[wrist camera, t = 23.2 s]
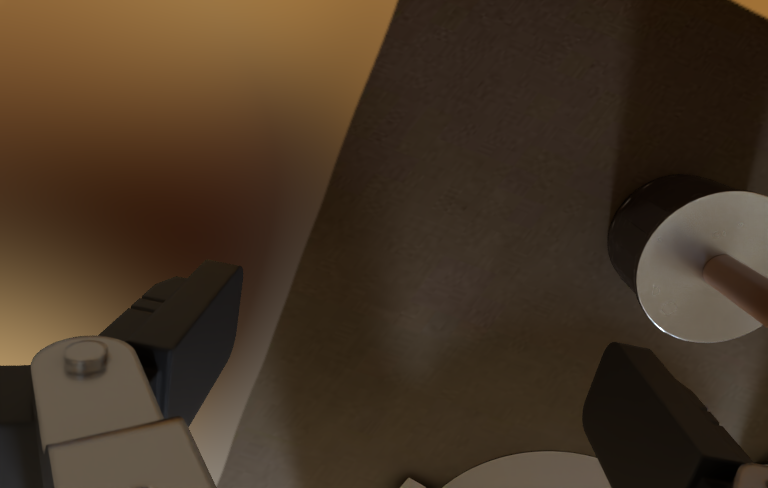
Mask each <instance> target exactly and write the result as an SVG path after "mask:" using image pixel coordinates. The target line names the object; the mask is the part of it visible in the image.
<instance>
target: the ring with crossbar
mask: <svg viewBox="0 0 768 488" xmlns="http://www.w3.org/2000/svg"><path fill="white" fill-rule="evenodd" d="M400 488H426V487H425V486H423V485H421V484H420V483H418V482H416V481H414V480H413V479H411V478H408V479H407V480H406V481H405V482H404V483H403V485H402V486H401V487H400ZM442 488H611V486H610V484H609V481H608V479H607V477H606V475H605V473H604V471H603V469H602V467H601V465H600V463H599V461H598V458H595V457H591V456H587V455H582V454H577V453H570V452H559V451H539V452H527V453H520V454H514V455H509V456H505V457H501V458H498V459H494V460H491V461H488V462H486V463H483V464H481V465H478V466H476V467H474V468H472V469H470V470H468V471H466V472H464V473H462V474H461V475H459V476H457V477H456V478H454V479H453V480H451V481H450V482H449V483H447V484H446V485H445V486H444V487H442Z"/></svg>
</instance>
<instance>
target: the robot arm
mask: <svg viewBox="0 0 768 488" xmlns="http://www.w3.org/2000/svg"><path fill="white" fill-rule="evenodd" d="M242 282H243V269H242V267H241V266H237V265H231V264H227V263H222V262H216V261H212V260H205V262H203V263H202V264H201V265H200V266H199V267H198V268H197V269H196V270H195V271H194V272H193V273H192V274H191V275H190V276H189V277H188V278H182V277H177V276H176V277H173V278H171V279H168V280H165V281H163V282H160V283H158V284H155V285H154V286H153V287H152V288H151V289H149V290H148V291H147V292H146V293H145V294H144V295H143V296H142V299H138V300H137V301H136V302H135V303H134V304H133V305H132V306H131V309H130V308H128V309H127V310H126V311H125V312H124V313H123V314H122V315H120V316H119V318H117V319H116V320H115V321H114V322H113V323H112V324H110V325H109V326H108V327H107V328H106V329H105V330H104V331H103V332H102V333H100V334H99V335H98V336H79V337H73V338H68V339H64V340H61V341H58V342H55V343H53V344H51V345H49V346H47V347H45V348H43V349H42V350H40V351H39V352H38V353H37V354H36V355H35V357H34V358H33V360H32V362H31V365H24V366H0V488H216V486H215V484H214V481H213V479H212V477H211V475H210V473H209V471H208V469H207V467H206V464H205V462H204V460H203V458H202V456H201V454H200V452H199V449H198V447H197V445H196V443H195V441H194V439H193V437H192V435H191V432H190V430H189V428H188V427H189V426H190V424H191V422H192V420H193V419H194V417H195V415H196V414H197V412H198V410H199V409H200V407H201V405H202V403H203V402H204V400H205V398H206V397H207V395H208V393H209V392H210V390H211V388H212V387H213V385H214V383H215V382H216V380H217V378H218V377H219V375H220V373H221V371H222V370H223V368H224V366H225V365H226V363H227V361H228V359H229V357H230V354H231V352H232V348H233V345H234V341H235V337H236V331H237V323H238V315H239V306H240V297H241V290H242ZM583 427H584V431H585V433H586V435H587V438H588V440H589V442H590V444H591V446H592V448H593V450H594V452H595V454H596V456H597V458H598V461H599V463H600V465H601V467H602V469H603V471H604V473H605V475H606V477H607V479H608V481H609V484H610V486H611V488H768V466H766V465H761V464H755V463H754V462H753V461H752V460H751V459H750V458H749V457H748V455H747V454H746V453H745V452H744V451H743V450H742V448H741V447H740V446H739V445H738V444H737V443H736V441H735V440H734V439H733V438H732V437H731V436H730V435H729V433H728V432H727V431H726V430H725V429H724V428H723V426H719V422H718V421H717V419H716V418H715V417H714V416H713V415H712V414H711V412H707V408H706V407H705V405H704V404H703V403H702V402H701V401H700V400H699V399H698V397H697V396H696V395H695V394H694V393H693V392H692V391H691V390H690V389H688V388H687V387H685V386H684V385H683V384H681V383H680V382H679V381H677V380H676V379H675V378H674V377H673V376H672V374H671V373H670V372H669V371H668V370H667V368H666V367H665V366H664V365H663V364H662V363H661V361H660V360H659V359H658V358H657V357H656V355H655V354H654V353H653V352H652V351H651V350H650V349H647V348H642V347H637V346H632V345H627V344H622V343H617V342H612V343H610V344H609V345H608V346H607V347H606V349H605V351H604V353H603V356H602V358H601V361H600V364H599V366H598V369H597V372H596V374H595V377H594V379H593V382H592V385H591V387H590V390H589V392H588V395H587V398H586V400H585V403H584V407H583Z"/></svg>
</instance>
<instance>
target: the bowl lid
mask: <svg viewBox="0 0 768 488" xmlns="http://www.w3.org/2000/svg"><path fill="white" fill-rule="evenodd" d="M634 289H635V293H636V297H637V300H638V302H639V304H640V306H641V308H642V309H643V311H644V312H645V314H646V315H647V316H648V317H649V318H650V320H651V321H652V322H653V323H654V324H655V325H656V326H658V327H659V328H660V329H661V330H663V331H665V332H666V333H668V334H670V335H672V336H674V337H677V338H679V339H683V340H687V341H692V342H700V343H712V342H721V341H726V340H731V339H734V338H738V337H741V336H743V335H745V334H748V333H750V332H752V331H754V330H756V329H758V328H759V327H761V326H763V325H764V326H765V327H766V328H768V197H767V196H765V195H762V194H759V193H756V192H752V191H747V190H740V189H726V190H717V191H712V192H708V193H704V194H701V195H698V196H695V197H693V198H691V199H689V200H687V201H685V202H683V203H681V204H679V205H678V206H676V207H675V208H673V209H672V210H671V211H669V212H668V213H667V214H665V215H664V216H663V217H662V218H661V219H660V220H659V221H658V222H657V223H656V224H655V225H654V227H653V228H652V229H651V230H650V232H649V233H648V235H647V236H646V238H645V239H644V241H643V243H642V245H641V247H640V249H639V252H638V255H637V258H636V261H635V267H634Z"/></svg>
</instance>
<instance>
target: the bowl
mask: <svg viewBox="0 0 768 488" xmlns="http://www.w3.org/2000/svg"><path fill="white" fill-rule="evenodd" d="M726 189H734V188H731V187H729V186H726V185H724V184H721V183H719V182H716V181H714V180H711V179H707V178H703V177H699V176H695V175H688V174H677V175H669V176H665V177H661V178H658V179H655V180H653V181H651V182H649V183H647V184H645V185H643V186H642V187H640V188H638V189H637V190H636V191H635V192H633V193H632V194H631V195H630V196H629V197H628V198H627V199H626V200H625V201H624V202H623V203H622V205H621V206H620V207H619V209H618V210H617V212H616V214H615V215H614V218H613V220H612V222H611V225H610V229H609V233H608V253H609V257H610V260H611V263H612V265H613V267H614V269H615V270H616V272H617V273H618V274H619V276H620V278H621V279H622V280H623V281H624V282H625V283H626V284H627V285H628V286H629V287H630V288H631V289H632V290H633V292H634V293H635V289H634V267H635V261H636V258H637V255H638V252H639V249H640V247H641V245H642V243H643V241H644V239H645V238H646V236H647V235H648V233H649V232H650V230H651V229H652V228H653V227H654V225H655V224H656V223H657V222H658V221H659V220H660V219H661V218H662V217H663V216H664V215H665V214H667V213H668V212H669V211H671V210H672V209H673V208H675V207H676V206H678V205H679V204H681V203H683V202H685V201H687V200H689V199H691V198H693V197H695V196H698V195H701V194H704V193H708V192H712V191H717V190H726ZM635 294H636V293H635Z"/></svg>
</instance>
